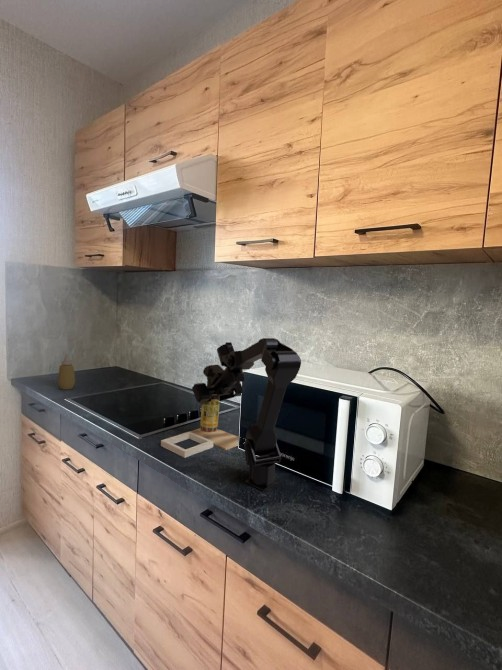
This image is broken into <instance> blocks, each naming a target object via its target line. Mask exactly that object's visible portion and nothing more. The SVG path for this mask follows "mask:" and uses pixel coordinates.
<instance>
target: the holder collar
mask: <svg viewBox="0 0 502 670" xmlns="http://www.w3.org/2000/svg"><path fill="white" fill-rule="evenodd" d="M187 440H191V441H194V442H196V443H198V444H197V445H194V446H192V447H189V448H186V449H185V448H184V447H181V446H179V445H177V443H180V442H183V441H187ZM160 447H162V448H163V449H166V450H168V451H170V452H173V453H174V454H176V455H178V456H180V457H182V458H184V459H186V458H188V457H190V456H194V455H196V454H198V453H202V452H205V451H206V450H209V449H212V448H214V445H213V441H211V440H209V439H206V438H204V437H202V436H199V435H197V434H194V433H192V432H190V431H186V432H183V433H180V434H178V435H175V436H171V437H167V438H165V439H161V440H160Z"/></svg>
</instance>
